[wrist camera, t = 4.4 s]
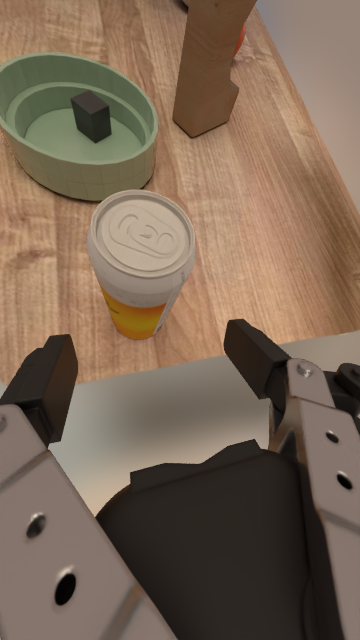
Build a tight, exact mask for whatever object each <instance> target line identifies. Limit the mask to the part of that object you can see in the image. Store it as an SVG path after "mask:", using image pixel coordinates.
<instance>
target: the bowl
mask: <svg viewBox="0 0 360 640" xmlns="http://www.w3.org/2000/svg"><path fill="white" fill-rule="evenodd" d="M88 90H90V91H91V92H93V93H94V94H95V95H96V96H98V97H99V98H100V99H102V100H103V101H104V102H105V103H107V104H108V105H109V110H110V121H111V132H112V134H111V135H110V136H108V137H106V138H104V139H103V140H101V141H99V142H98V143H96V144H95V143H94V142H93V141H91V140H90V139H89V138H88V137H86V136H85V135H84V134H83V133H81V132H80V131H79V130H78V129H77V126H76V122H75V117H74V113H73V108H72V104H71V100H70V98H72V97H74V96H77V95H79V94H81V93H84V92H86V91H88ZM0 130H1V132H2V134H3V135H4V137H5V139H6V141H7V143H8V145H9V147H10V148H11V150H12V152H13V154H14V156H15V158H16V160H17V161H18V162H19V164H20V165H21V166H22V168H23V169H24V170H25V172H26V173H28V174H29V175H30V176H31V177H32V178H34V179H35V180H36V181H37V182H39V183H40V184H42V185H44V186H45V187H47V188H49V189H51V190H53V191H55V192H57V193H60V194H63V195H66V196H69V197H72V198H78V199H84V200H93V201H103V200H105V199H106V198H107V197H109V196H111V195H113V194H115V193H118V192H121V191H125V190H139V189H140V188H141V187H143V186H144V185H145V184H146V182H147V181H148V180H149V179H150V177H151V175H152V173H153V170H154V167H155V157H156V147H157V137H158V117H157V113H156V109H155V107H154V106H153V104H152V102H151V100H150V99H149V97H148V96H147V95H146V94H145V92H144V91H143V90H142V89H141V88H140V87H139V86H138V85H137V84H135V83H134V82H133V81H132V80H131V79H129V78H128V77H127V76H125V75H123V74H122V73H120V72H118V71H117V70H115V69H113V68H111V67H109V66H107V65H105V64H102V63H100V62H98V61H95V60H92V59H89V58H86V57H82V56H77V55H72V54H67V53H65V54H64V53H57V52H40V53H29V54H25V55H21V56H17V57H14V58H12V59H10V60H8V61H7V62H5V63H3V64H1V65H0Z"/></svg>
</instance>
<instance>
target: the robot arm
mask: <svg viewBox="0 0 360 640" xmlns="http://www.w3.org/2000/svg"><path fill="white" fill-rule="evenodd" d="M224 351H225V353H226V354H227V356H228V357H229V359H230V360H231V361H232V363H233V364H234V365H235V367H236V368H237V369H238V371H239V372H240V374H241V375H242V377H243V378H244V379H245V381H246V382H247V383H248V385H249V386H250V388H252V390H253V392H254V393H255V394H256V396H257V397H258V399H265V398H270V399H271V403H270V407H269V408H270V410H269V446H268V450H266V449H260V447H259V445H258V444H257V442H256V440H255V439H253V440H249V441H245V442H241V443H237V444H234V445H230V446H227V447H226V448H224V449H223V450H221V451H220V452H218V453H217V454H215V455H214V456H212V457H211V458H209V459H208V460H206V461H205V462H203V463H201V464H181V463H164V464H160V465H156V466H153V467H148V468H145V469H141V470H138V471H134V472H130V479H131V480H130V482H131V484H129V485H128V486H126V487H125V488H123V489H122V490H121V491H119V492H118V493H117V494H115V495H114V496H113V497H112V498H111V499H110V500H109V501H108V502H107V503H106V505H105V506H104V507H103V508H102V509H101V510H100V511H99V513H98V514H97V516H96V517H94V516H93V514H92V513H91V511H90V510H89V508H88V507H87V505H86V504H85V502H84V501H83V499H82V498H81V496H80V495H79V493H78V492H77V490H76V489H75V487H74V486H73V484H72V483H71V481H70V480H69V478H68V477H67V475H66V474H65V472H64V471H63V469H62V468H61V466H60V464H59V463H58V462H57V460H56V458H55V457H54V456H53V454H52V453H51V451H50V450H48V446H49V444H50V443H54V442H59V441H61V438H62V434H63V429H64V425H65V422H66V418H67V414H68V410H69V405H70V401H71V398H72V394H73V389H74V386H75V382H76V378H77V374H78V361H77V357H76V353H75V349H74V346H73V342H72V338H71V336H70V335H69V334H65V335H54V336H50V337H49V338H48V340H47V342H46V344H45V345H44V347H43V348H37V349H35V350H34V351H33V352H32V353H30V354H29V355H28V356H27V357H26V358H25V360H24V362H23V363H22V365H21V368H19V370H18V371H17V373H16V376H14V378H13V379H12V381H11V383H10V384H9V386H8V387H7V389H6V391H5V392H4V394H3V396H2V397H1V399H0V637H1V640H360V419H359V418H358V417H357V416H358V415H359V413H360V366H358V365H355V364H350V363H343V364H341V365H340V366H339V368H338V370H337V371H336V372H330V371H322V370H321V369H320V368H319V367H318V366H316V365H315V364H313V363H312V362H309V361H307V360H304V359H299V358H291V357H290V356H289V355H288V354H287V353H286V352H284V351H283V350H282V349H281V348H280V347H279V346H278V345H276V344H275V343H273V341H272V340H271V339H270V338H267V336H266V335H265V334H264V333H263V332H262V331H260V330H258V329H256V328H254V327H252V326H251V325H250V324H249V323H248V322H247V321H245V320H244V319H234V320H229V321H228V323H227V328H226V333H225V338H224Z"/></svg>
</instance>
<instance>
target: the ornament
mask: <svg viewBox="0 0 360 640" xmlns="http://www.w3.org/2000/svg"><path fill="white" fill-rule="evenodd" d="M182 1H183V2H184V3H185V5H186V6H188V7H189V3H190V0H182Z"/></svg>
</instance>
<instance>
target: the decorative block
mask: <svg viewBox="0 0 360 640" xmlns="http://www.w3.org/2000/svg"><path fill="white" fill-rule="evenodd" d="M256 1H257V0H190V3H189V9H188V16H187V23H186V30H185V36H184V43H183V49H182V56H181V63H180V69H179V76H178V83H177V89H176V96H175V103H174V110H173V120H174V121H175V122H176V123H177V124H178V125H179V126H180V127H181V128H182V129H183V130H184V131H185V132H186V133H187V134H188V135H189V136H191V137H192V138H193V137H195V136H197V135H199V134H201V133H203V132H205V131H208V130H210V129H212V128H214V127H216V126H218V125H220V124H222V123H224V122H226V121H228V120H229V117H230V115H231V112H232V109H233V106H234V104H235V101H236V98H237V96H238V93H239V88H238V87H237V86H236V85H235V84H234V83H233V82H232V81H231V80H230V67H231V63H232V59H233V55H234V51H235V47H236V45H237V42H238V39H239V36H240V34H241V31H242V28H243V26H244V23H245V22H246V20H247V18H248V16H249V14H250V12H251V10H252V8H253V7H254V5H255V3H256Z"/></svg>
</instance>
